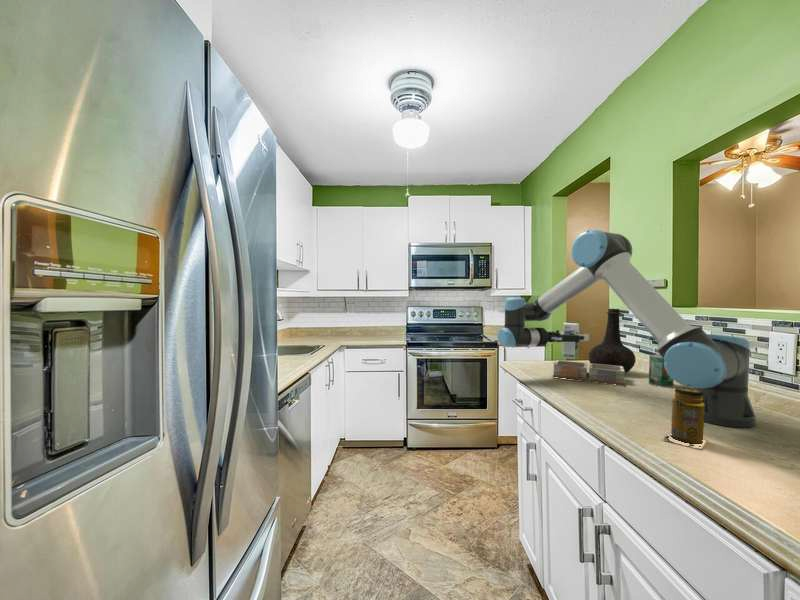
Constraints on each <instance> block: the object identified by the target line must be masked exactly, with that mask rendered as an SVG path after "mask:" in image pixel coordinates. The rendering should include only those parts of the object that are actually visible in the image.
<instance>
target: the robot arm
mask: <svg viewBox="0 0 800 600" xmlns="http://www.w3.org/2000/svg"><path fill="white" fill-rule="evenodd" d="M570 254H571V257H572V260H573V261H574V263H575V264H576V265H577V266H579V267H578V268H577V269H575V270H574V271H573V272H572V273H570V274H569V275H568V276H566V277H565V278H563V279H562V280H561V281H559V282H558V283H557V284H555V285H554V286H553V287H552V288H550V289H549V290H547V291H546V292H545V293H543V294H542V295H541V296H539V297H538V298H537V299H535V300H534V301H532V302H528V301H527V302H526V298H524V297H506V299H505V304H504V325H503V326H504V327H502V328H500V329H499V330H498V333H497V338H496V339H497V341H498V344H499V345H500V346H501V347H503V348H527V349H530V347H532V348H533V347H546V345H547V344H548V343H555V342H556V343H563V342H575V343H577V342H579V343H580V342H589V341H590V334H589V333H579V334H575V335H563V331H560V330H558V329H556V330H555V331H547V330H546V329H545V327H525V324H526V323H525V322H542V321H547V320H548V319H549V318H550V317H551V315H552V313H553V312H555V311H556V310H557V309H558V308H560V307H561V306H563V305H565V304H566V303H568V302H569V301H570V300H572V299H573V298H575V297H576V296H578V295H579V294H580V293H582V292H583V291H585V290H586V289H588V288H589V287H592V285H594V284H596V283H597V282H598V281H604V282H605V283H606V284H607V286H608V287H609V288H610V289H612V291H613V292H614V293H615V295H617V296H618V298H619V299H620V300H621V301H622V303H623V304H624V305H625V306H626V307H627V308H628V310H630V311H631V313H632V315H634V317H635V318H636V319H637V321H639V322H640V324H641V325H642V326H643V327H644V328H645V330H647V332H648V333H649V334H650V335H651V336H652V338H654V340H655V341H656V342H657V344H658V345H657V349H656V350H657V352H658V355H661V356H662V357H663V358H664V367H665V369H666V371H667V373H668V375H669V376H670V377H671V378H672V379H673V380H674V382H676V383H677V384H679V385H681V386H682V387H685V388H692V389H697V390H700V391H702V392H703V401H702V402H703V403H704V406H705V408H704V423H705V422H706V423H708V424H709V423H710V424H714V425H718V426H725V427H731V428H732V427H733V428H753V427H755V426H756V423H757V421H756V420H757V418H756V416H757V415H756V414H755V411H754V408H753V406H752V403H751V400H750V397H749V375H750V374H749V373H750V369H749V368H750V353H751V348H750V342H749V340H748V339H746V338H744V337H739V336H738V337H737V336H730V335H722V334H712V333H711V334H709V333H706V332H705V331H704V330H703V329H702V327H701V326H695V325H691V324H689V323H688V321H686V320H685V319H684V318H683V317H682V316H681V314H680V313H679V312H677V310H675V308H673V306H672V305H671V304H670V303H669V302H668V301H667V300H666V299H665V297H663V295H662V294H661V293H660V292H659V291H658V290H657V289H656V288H655V287H654V286H653V285H652V284H651V283H650V282H649V280H647V279H646V277H644V276H643V274H641V272H640V271H639V269H637V268H636V267H635V266H634V265H633V264H632V263H631V262H630V261H631V258H632V256H633V245H632V243H631V241H630V240H629V239H628V238H627V237H626V236H624V235H623V234H620V233H615V232H608V231H604V230H603V231H602V230H601V229H587V230H585V231H583V232H581V233H580V234H578V235H577V237H576V238H575V239H574V240H573V243H572V246H571V252H570Z"/></svg>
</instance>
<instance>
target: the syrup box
mask: <svg viewBox="0 0 800 600" xmlns="http://www.w3.org/2000/svg"><path fill="white" fill-rule="evenodd" d="M562 332H563V335H575V334H580V323H576V322H564V323H563V331H562ZM579 343H580V341H579V342H577V343H575V342H562V356H561V358H562V359H569V360H578V358H579Z"/></svg>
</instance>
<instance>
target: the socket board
mask: <svg viewBox="0 0 800 600" xmlns="http://www.w3.org/2000/svg"><path fill="white" fill-rule="evenodd" d="M587 366H588V363H587V362H580V361H571V360H570V361H569V360H558V359H556V360H555V362H554V364H553V375H552V378H553V377H558V378H566V379H573V380H581V381H580V382H582V381H590V382H589V383H591V382H598V383H597V384H600V383H607V384H606V385H609V384H616V385H615V386H618V385H622V386H621V387H625V386H626V382H625V377H626V375H625V374H626V373H625V371H624V369H623V366H615V365H604V364H593V363H590V362H589V366H588V367H589V368H588V367H587ZM588 369H589V371H587V370H588ZM573 380H572V381H573Z"/></svg>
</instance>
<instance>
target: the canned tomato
mask: <svg viewBox="0 0 800 600" xmlns="http://www.w3.org/2000/svg"><path fill="white" fill-rule="evenodd" d="M648 360H649V361H648V362H649V366H648V367H649V368H648V369H649V370H648V385H650V384H651V385H650V386H653V385H654V386H655V387H658V386H660V388H667V387H669V389H670V388H674V383H675V381H674V380H673V379H672V378H671V377H670V376H669V375H668V373H667V371H666V369H665V367H664V358H663V357H662V356H661V355H660V354H649V359H648Z"/></svg>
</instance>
